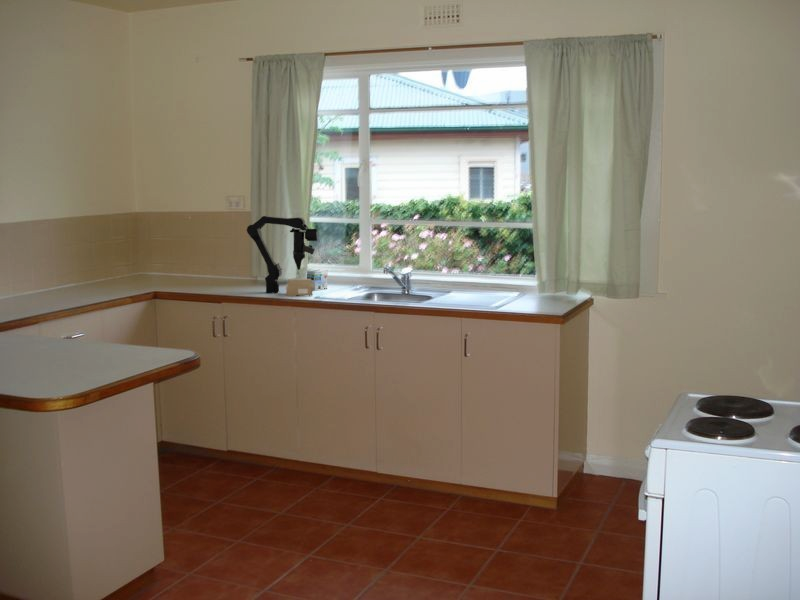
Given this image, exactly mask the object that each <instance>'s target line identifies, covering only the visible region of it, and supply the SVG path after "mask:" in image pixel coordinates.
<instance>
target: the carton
mask: <svg viewBox="0 0 800 600" xmlns="http://www.w3.org/2000/svg"><path fill="white" fill-rule="evenodd" d="M296 295H300V296H299V297H304V296H303V295H311V296H312V295H313V290H312V284H311V286H288V283H286V296H287V297H297V296H296Z"/></svg>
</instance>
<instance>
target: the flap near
mask: <svg viewBox="0 0 800 600" xmlns="http://www.w3.org/2000/svg"><path fill="white" fill-rule="evenodd" d="M287 284H288V286H311V279H307V278H301V279H300V278H297V279H296V278H287Z"/></svg>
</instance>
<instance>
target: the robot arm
mask: <svg viewBox="0 0 800 600" xmlns="http://www.w3.org/2000/svg"><path fill="white" fill-rule="evenodd" d="M266 224H272V225H280V226H288V227H290V228H292V229H291V230H289V233H293V251H292V257H293V260H294V263H295V265H296V268H297V270H298V271H299V270H301V266H302V261H303V260H304V259H305V258H306V254H305V253H307V254H310V255H314V253H315V249H316V248H314V247H313V245H311V244H309V245H306V243H305V240H306V241H307V242H318V241H319V231H318V228H316V227H315V228H309V227H308V225H307V224H306V221H305V219H304V217H300V216H299V217H288V218H287V217H280V216H279V217H278V216H268V215H263V216H261V218H259V219H258V220H257V221H255V222H254V223H253V224H249V225H248V226H247V228H246V232H247V234H248V236H249V237H250V238H251V239H252V241H254V243H255V244H256V246H257V249H258V251H259V252H260V254H261V256H262V258H263V260H264V262H265V264H266V268H267V272H268V275H267V276H266V277H265V278H264V281H265V294H279V291H280V285H279V284H280V283H279V282H278V281H279V278H281V277H282V273H283V268H281V265H280V262H279V263H278V262H277V263H276V262H275V261H274V258H273V257H272V254H271V253H270V251H269V249H268V247H267V245H266V243H265V241H264V239H263V236H262V231H261V229H263V227H264V226H265V225H266Z"/></svg>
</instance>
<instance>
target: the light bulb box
mask: <svg viewBox="0 0 800 600" xmlns="http://www.w3.org/2000/svg"><path fill="white" fill-rule="evenodd" d="M306 279H311V284H312V291H314V290H316V291H319V290H318V289H323V288H327V289H328V270H324V269H312V270H306ZM323 290H324V289H323Z"/></svg>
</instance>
